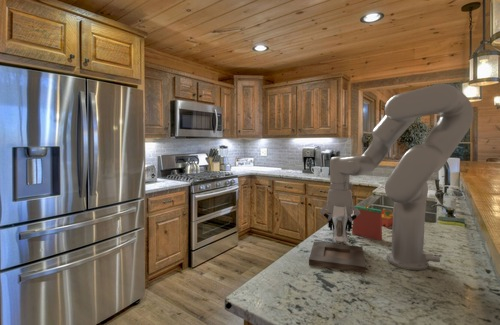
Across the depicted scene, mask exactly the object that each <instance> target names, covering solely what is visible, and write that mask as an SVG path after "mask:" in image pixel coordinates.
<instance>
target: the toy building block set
mask: <svg viewBox="0 0 500 325" xmlns="http://www.w3.org/2000/svg"><path fill="white" fill-rule="evenodd" d="M353 206H354V207H356V208H357V209H358V210H359V211H360V214H359V215H358V216H357V217H356V218H355V219H354V220H353V221H352V231H351V233H352V235H354V236H361V237H365V238H369V239H373V240H377V241H382V240H383V230H382V229H383V227H384V226H385V227H386V228H388V227H390V226H392V225H393V224H392V223H393V209H389V208H388V209H387V208H383V209H377V208H371V207H370V206H369V205H366V206H360V205H353ZM355 213H356V212H355V211H354V210H353V215H354V214H355Z"/></svg>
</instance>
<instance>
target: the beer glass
mask: <svg viewBox="0 0 500 325" xmlns="http://www.w3.org/2000/svg"><path fill="white" fill-rule="evenodd" d="M331 220H332V231H333V234H332V239H331V240H332V242H334V243H335V244H346V243H348V242H349V239H348V221H349V219H348V215H347V211H346V206H334V209H333V214H332V218H331Z"/></svg>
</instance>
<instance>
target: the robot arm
mask: <svg viewBox="0 0 500 325" xmlns="http://www.w3.org/2000/svg"><path fill="white" fill-rule="evenodd" d="M384 105H385V106H384V114H385V115H384V116H383V117H382V119H381V120H380V121H379V122H378V123H377V124H376V126H374V128H373V129H372V130H371V131H372V132H371V135H372V139H371V140H372V141H371V143H370V145H369V146H368V147H367V149H366V150H365V151H364V152H363V154H362V155H356V156H332V157H331V158H330V159H329V182H330V183H329V189H328V192H327V196H326V197H327V198H326V204H325V205H324V206H323V207H321V209H319V211H320V213H321V214H322V215H323V217H325V219H327V221H328V222H327V223H328V224H327V225H328V228H329V231H333V226H332V220H331V218H332V214H333V209H334V206H346V211H347V215H348V219H349V221H348V227H347V232H349V233H350V232H351V229H353V220H354V219H355V218H356V217H357V216H358V215H359V214H360V211H359V210H358V209H357V208H356V207H354V206H355V205H354V200H353V192H352V189H351V188H354V183H350V176H353V177H358V176H362V175H363V176H364V175H369V174H370V173H372V172H373V171H374V170H375V169H376V168H377V167H378V166H379V165H380V164H381V163H382V162H383V161H384V160H385V158H386V157H387V155H388V153H389V152H390V150H391V148H392V147H393V145H394V144H395V143H396V142H397V141H398V139H399V138H400V137H401V136H402V135H403V134H404V133H405V132H406V130H407V129H409V127H410V126H411V125H412V124H413V123H414V122H415V121H416V119H417V118H420V117H425V116H426V117H427V116H431V115H437V114H438V115H439V119H438V121H437V122H436V124H434V126H433V127H432V129H431V130H430V131H429V133H428V134H427V136H426V137H425V138H424V139H423V141H422V143H420V144H416V145H414V146H412V147H410V148H409V149H408V150H406V152H405V153H404V154H403V156H402V157H401V158H400V160H399V161H398V163H397V165H396V166H395V167H394V169H393V171H392V172H391V174H390V175H389V176H388V178H387V180H386V182H385V184H384V190H385V194H386V197H387V198H389V200H391V201H392V202H393V209H392V210H393V211H392V214H393V224H392V225H391V226H392V229H391V230H392V231H391V234H392V235H391V251H390V252H389V253H387V254H386V256H385V257H386V258H385V259H386V261H387V262H388V263H390V264H391V265H393V266H395V267H399V268H400V269H401V268H402V269H406V270H409V271H410V270H412V271H423V270H427V269H428V267H429V262H435V263H441V258H440V256H439V255H434V254H433V253H426V252H425V250H424V241H425V223H426V222H425V220H426V207H427V199H428V195H429V194H428V193H429V192H428V191H429V186H428V185H429V184H428V180H430V179H431V177H432V175H433V174H434V173H437V172H438V171H440V170H441V169H442V168H444V166H445V164H446V163H447V161H448V160H449V158H450V157H451V156H452V154H453V153H454V151H455V150H456V149H457V147H458V146H459V145H460V143H461V141H462V140H463V139H464V138H465V136H466V135H467V134H468V132H469V130H470V128H471V126H472V123H473V120H474V107H473V105H472V103H471V101H470V99H469V98H468V97H467V96H466V95H465V93H464V92H462V91H461V90H460V89H458V88H457V87H455V86H454V85H451V84H448V83H437V84H433V85H428V86H425V87H421V88H417V89H413V90H409V91H404V92H402V93H398V94H394V95H393V96H392V97H389V99H388V100H387V101H386V103H385V104H384ZM354 211H355V212H356V213H355V214H354Z"/></svg>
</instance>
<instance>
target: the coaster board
mask: <svg viewBox="0 0 500 325" xmlns="http://www.w3.org/2000/svg"><path fill="white" fill-rule="evenodd" d="M312 243H313V244H312V246H311V247H312V248H311V250H310V254H309V258H308V266H312V267H313V266H314V267H319V268H321V267H322V268H328V269H335V270H342V271H349V272H357V273H362V274H363V273H364V274H367V264H366V260H365V255H364V248H363V246H358V245H357V246H356V245H349V244H342V243H329V242H321V241H313V242H312Z"/></svg>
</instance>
